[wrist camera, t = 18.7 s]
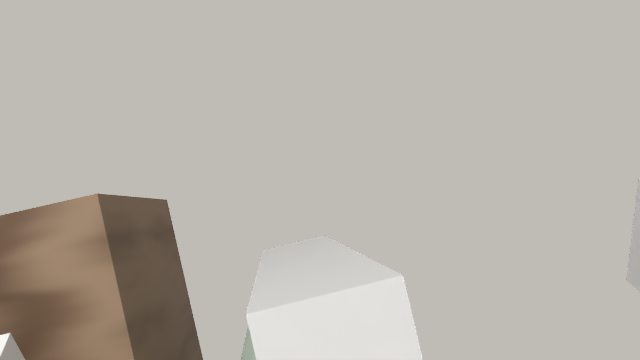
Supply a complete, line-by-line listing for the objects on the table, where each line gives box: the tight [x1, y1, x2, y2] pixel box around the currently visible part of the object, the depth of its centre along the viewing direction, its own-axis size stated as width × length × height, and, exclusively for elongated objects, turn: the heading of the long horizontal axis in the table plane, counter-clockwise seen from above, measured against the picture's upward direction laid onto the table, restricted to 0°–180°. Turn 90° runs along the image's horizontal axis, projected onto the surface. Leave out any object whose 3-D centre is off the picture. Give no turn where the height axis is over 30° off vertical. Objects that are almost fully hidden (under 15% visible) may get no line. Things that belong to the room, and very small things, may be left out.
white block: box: [246, 235, 423, 360], centre depth 28 cm, size 4×25×4 cm, turn 4°
